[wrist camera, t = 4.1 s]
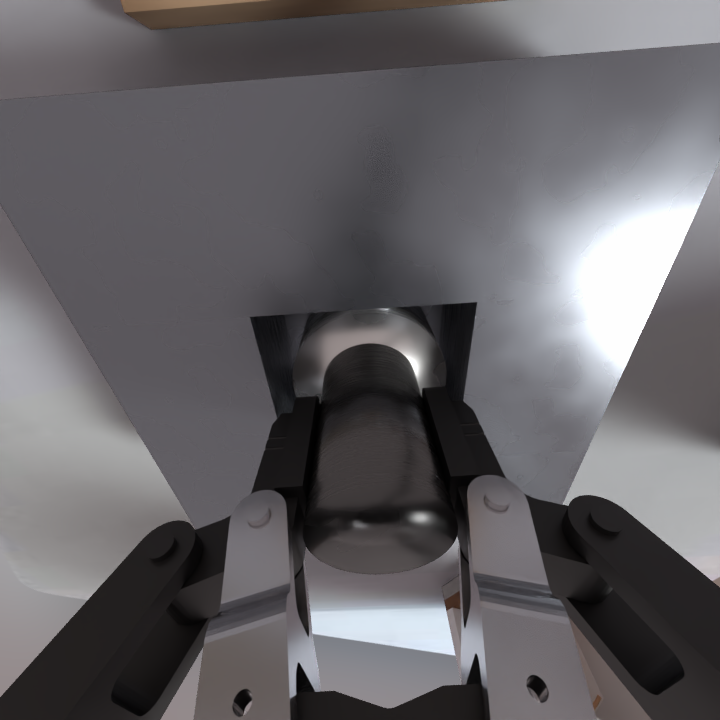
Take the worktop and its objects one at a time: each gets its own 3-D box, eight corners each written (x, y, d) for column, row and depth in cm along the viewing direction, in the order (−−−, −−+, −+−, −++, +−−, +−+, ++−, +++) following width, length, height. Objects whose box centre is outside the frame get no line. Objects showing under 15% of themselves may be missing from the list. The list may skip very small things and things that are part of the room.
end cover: (433, 277, 13) (537, 435, 6) (428, 390, 17) (492, 588, 9) (291, 289, 14) (211, 458, 6) (314, 399, 17) (281, 600, 9)
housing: (593, 90, 12) (776, 38, 7) (505, 438, 21) (552, 525, 16) (113, 127, 12) (-60, 104, 7) (239, 453, 22) (204, 543, 17)
